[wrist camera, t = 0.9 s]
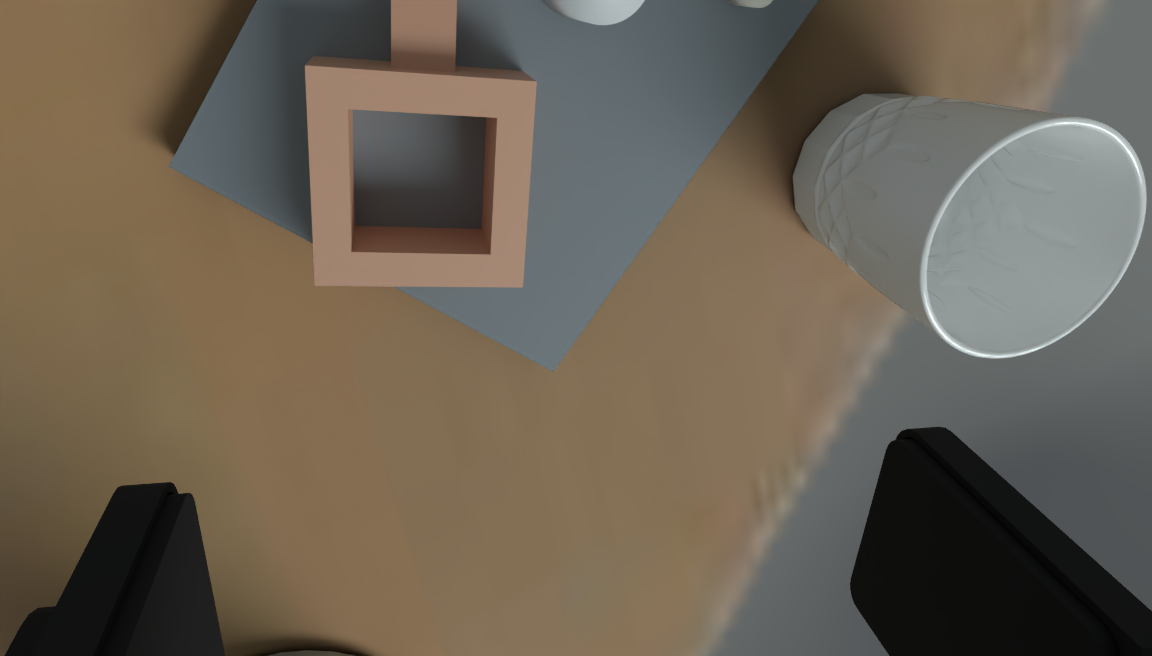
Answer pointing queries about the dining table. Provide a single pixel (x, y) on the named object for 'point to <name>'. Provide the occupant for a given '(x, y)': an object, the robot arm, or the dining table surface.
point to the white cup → (975, 213)
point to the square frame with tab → (426, 87)
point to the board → (457, 143)
